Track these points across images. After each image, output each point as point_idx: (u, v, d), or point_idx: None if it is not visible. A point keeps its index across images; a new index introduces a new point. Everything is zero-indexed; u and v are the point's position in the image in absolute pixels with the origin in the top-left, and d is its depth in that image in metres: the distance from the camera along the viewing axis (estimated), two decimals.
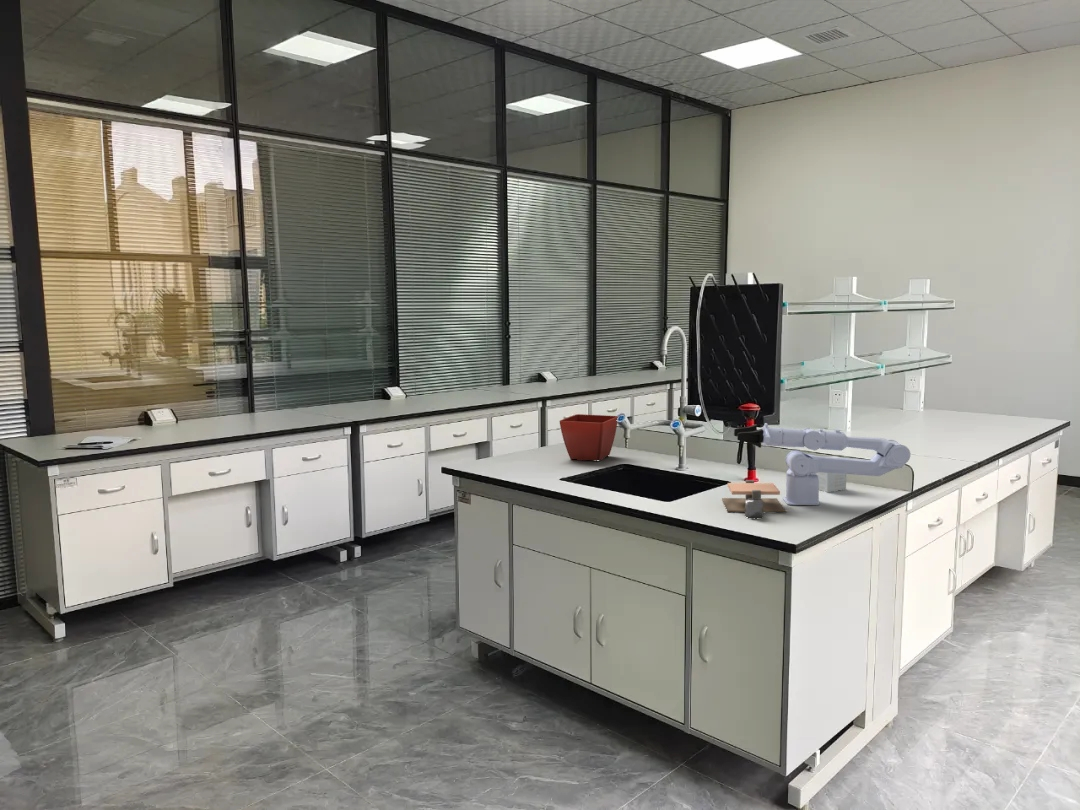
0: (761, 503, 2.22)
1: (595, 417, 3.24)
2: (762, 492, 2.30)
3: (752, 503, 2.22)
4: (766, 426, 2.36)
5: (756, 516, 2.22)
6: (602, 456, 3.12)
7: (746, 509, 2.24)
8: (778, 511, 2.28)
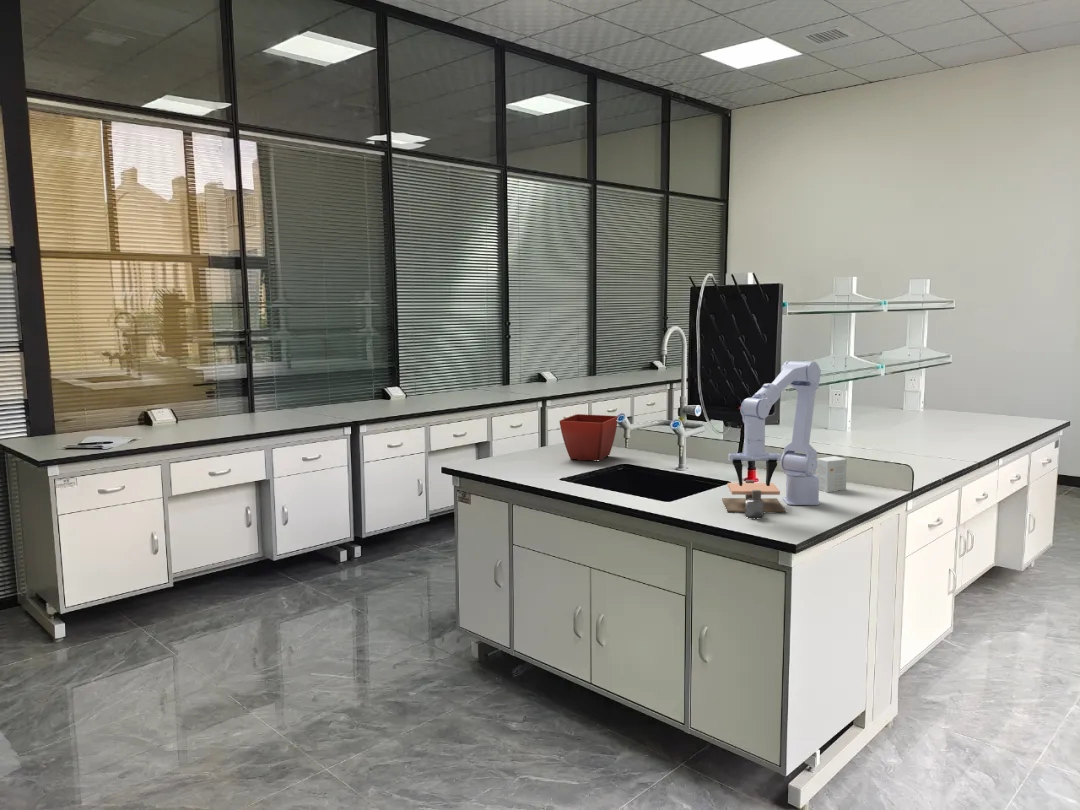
0: (761, 503, 2.22)
1: (595, 417, 3.24)
2: (762, 492, 2.30)
3: (752, 503, 2.22)
4: (759, 457, 2.19)
5: (756, 516, 2.22)
6: (602, 456, 3.12)
7: (746, 509, 2.24)
8: (778, 511, 2.28)
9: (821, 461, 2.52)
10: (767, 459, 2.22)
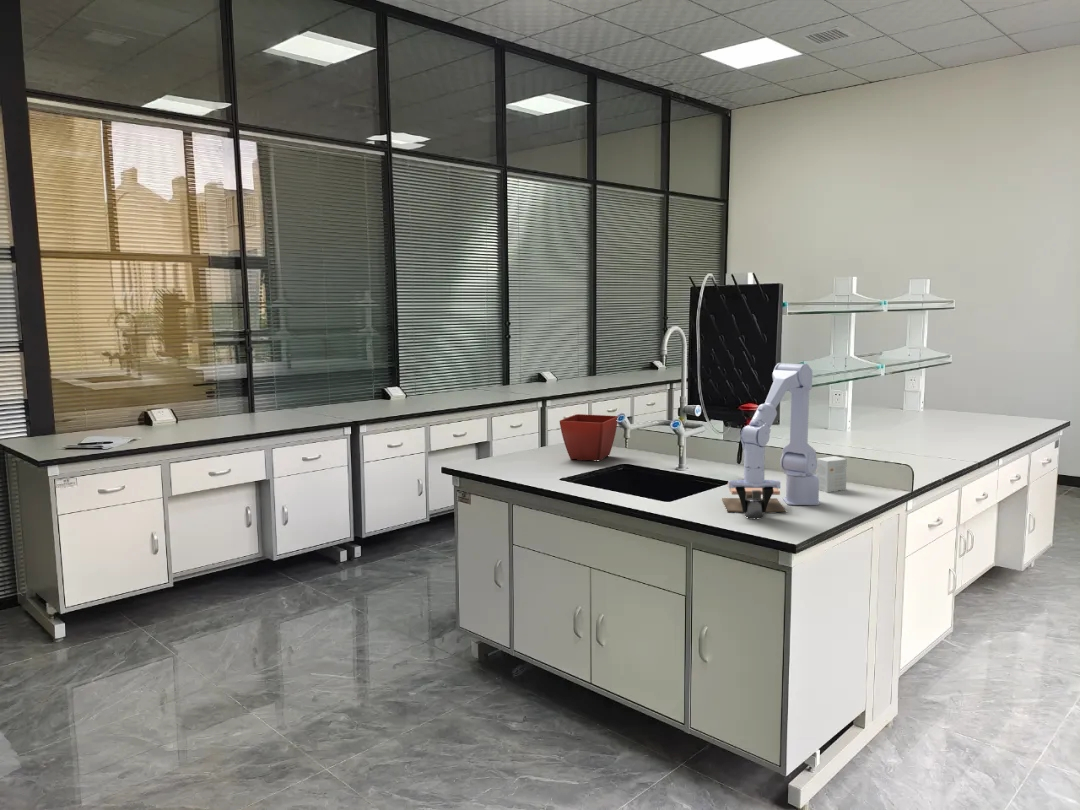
0: (761, 503, 2.22)
1: (595, 417, 3.24)
2: None
3: (752, 503, 2.22)
4: (759, 484, 2.20)
5: (756, 516, 2.22)
6: (602, 456, 3.12)
7: (746, 509, 2.24)
8: (778, 511, 2.28)
9: (821, 461, 2.52)
10: (767, 486, 2.23)
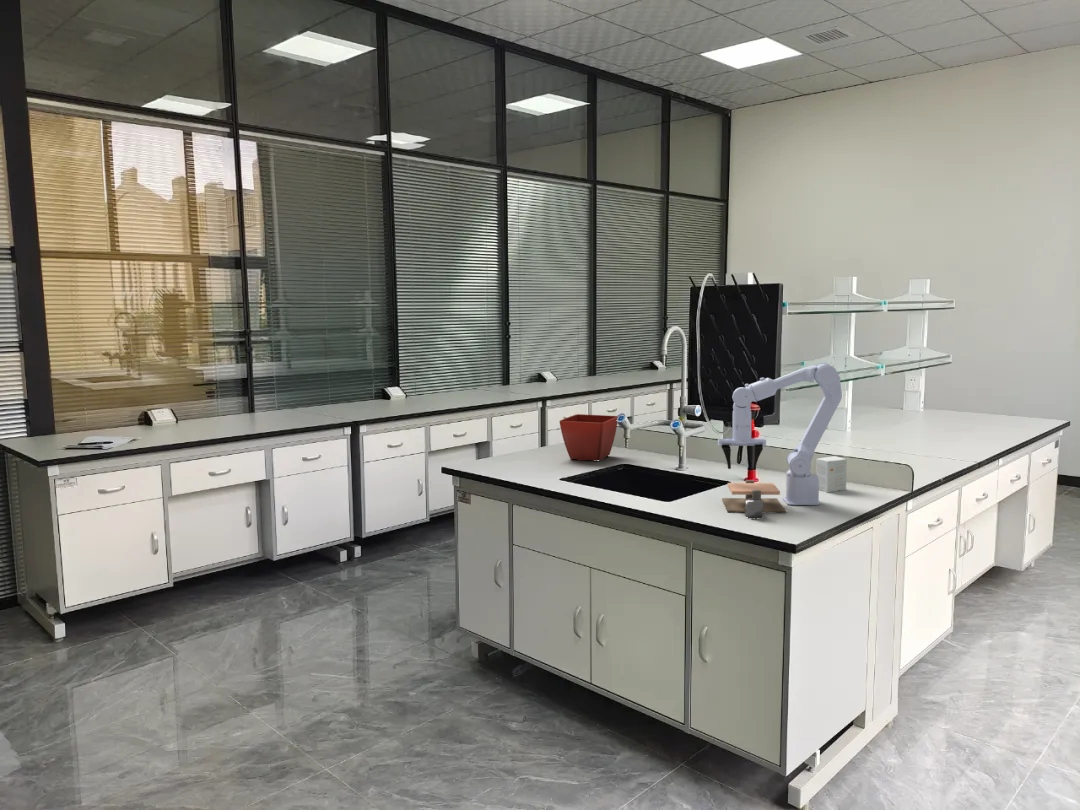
0: (761, 503, 2.22)
1: (595, 417, 3.24)
2: (762, 492, 2.30)
3: (752, 503, 2.22)
4: (746, 442, 2.38)
5: (756, 516, 2.22)
6: (602, 456, 3.12)
7: (746, 509, 2.24)
8: (778, 511, 2.28)
9: (821, 461, 2.52)
10: (753, 444, 2.40)
